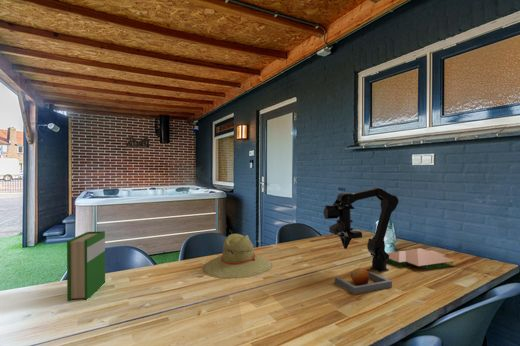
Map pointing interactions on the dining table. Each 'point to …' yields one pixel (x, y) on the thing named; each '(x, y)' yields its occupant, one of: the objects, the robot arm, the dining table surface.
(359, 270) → the fruit
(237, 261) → the straw hat
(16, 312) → the dining table surface
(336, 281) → the corral
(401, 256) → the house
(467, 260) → the dining table surface
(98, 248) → the hardback book
